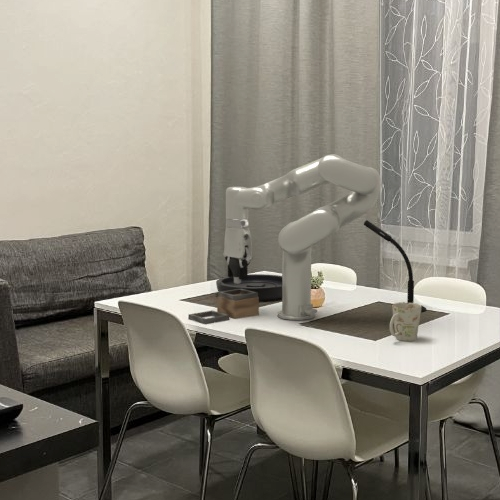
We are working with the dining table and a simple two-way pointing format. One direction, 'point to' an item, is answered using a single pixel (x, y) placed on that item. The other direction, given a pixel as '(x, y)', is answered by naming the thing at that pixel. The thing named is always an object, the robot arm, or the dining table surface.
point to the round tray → (255, 285)
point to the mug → (405, 321)
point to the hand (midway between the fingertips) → (237, 277)
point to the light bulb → (235, 269)
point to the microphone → (387, 237)
